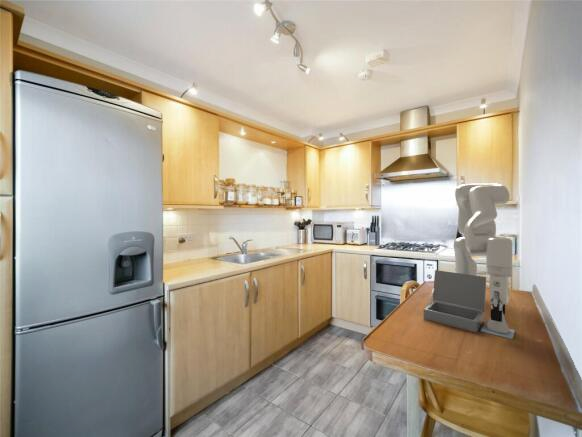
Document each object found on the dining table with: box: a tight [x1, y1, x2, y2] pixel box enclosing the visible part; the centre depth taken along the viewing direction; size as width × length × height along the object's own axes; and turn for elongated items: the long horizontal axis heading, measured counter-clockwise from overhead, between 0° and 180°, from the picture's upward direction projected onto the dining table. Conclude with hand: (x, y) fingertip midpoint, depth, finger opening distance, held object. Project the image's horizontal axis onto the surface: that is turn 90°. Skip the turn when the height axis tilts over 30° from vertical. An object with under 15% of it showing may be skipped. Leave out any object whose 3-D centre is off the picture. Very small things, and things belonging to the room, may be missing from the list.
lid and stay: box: [427, 269, 487, 313], centre depth 112 cm, size 9×19×15 cm, turn 46°
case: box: [423, 300, 484, 333], centre depth 108 cm, size 15×18×5 cm
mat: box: [480, 323, 516, 340], centre depth 97 cm, size 9×9×1 cm
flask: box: [485, 303, 510, 334], centre depth 98 cm, size 7×7×10 cm
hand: (497, 317), depth 97 cm, fingers open, 9 cm apart
